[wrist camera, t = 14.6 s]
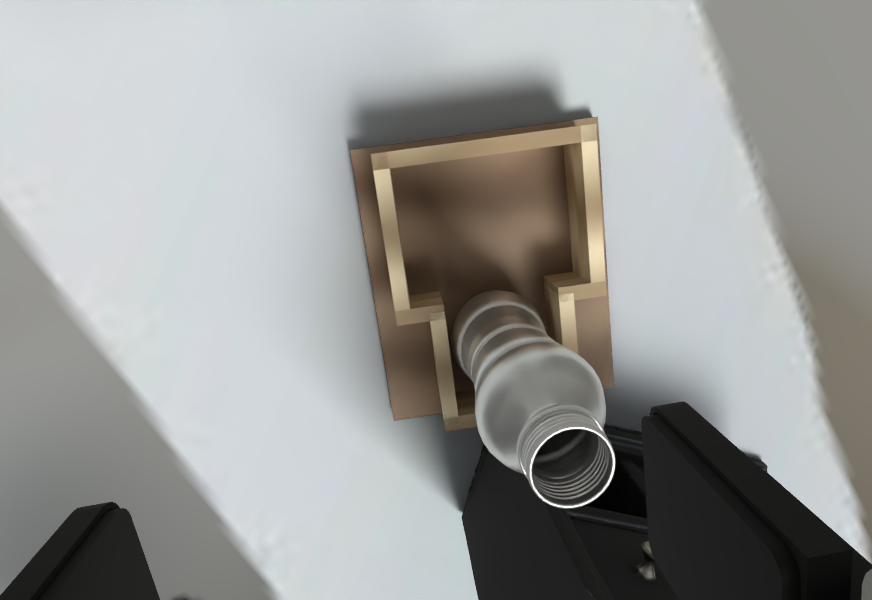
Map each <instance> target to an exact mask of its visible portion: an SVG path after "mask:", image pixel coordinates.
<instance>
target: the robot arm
mask: <svg viewBox="0 0 872 600" xmlns="http://www.w3.org/2000/svg"><path fill="white" fill-rule="evenodd" d="M642 440H643V457H644V473H645V489H646V506H647V522H648V538H649V545H650V549H651V552H652V555H653V558H654V560H655V562H656V564H657V565H658V567H659V568H660V570H661V572H662V573H663V575H664V576H665V578H666V580H667V581H668V583H669V584H670V586H671V587H672V589H673V591H674V592H675V594H676V595H677V597H678V599H679V600H872V564H871V563H869V562H868V561H867V560H866V559H865V558H864V557H863V556H861V555H860V554H859V553H858V552H857V551H856V550H855V549H853V548H852V547H851V546H850V545H849V544H848V543H847V542H846V541H844V540H843V539H842V538H841V537H840V536H839V535H838V534H836V533H835V532H834V531H833V530H832V529H831V528H830V527H828V526H827V525H826V524H825V523H824V522H823V521H822V520H820V519H819V518H818V517H817V516H816V515H815V514H814V513H813V512H811V511H810V510H809V509H808V508H807V507H806V506H805V505H803V504H802V503H801V502H800V501H799V500H798V499H797V498H795V497H794V496H793V495H792V494H791V493H790V492H789V491H788V490H786V489H785V488H784V487H783V486H782V485H781V484H780V483H778V482H777V481H776V480H775V479H774V478H773V477H772V476H770V475H769V474H768V473H767V472H766V471H765V470H763V469H762V468H760V467H759V466H757V465H756V464H755V463H754V462H753V461H752V460H751V459H750V458H748V457H747V456H746V455H745V454H744V453H743V452H742V451H740V450H739V449H738V448H737V447H736V446H735V445H734V444H733V443H731V442H730V441H729V440H728V439H727V438H726V437H725V436H723V435H722V434H721V433H720V432H719V431H718V430H717V429H716V428H714V427H713V426H712V425H711V424H710V423H709V422H708V421H706V420H705V419H704V418H703V417H702V416H701V415H700V414H699V413H697V412H696V411H695V410H694V409H693V408H692V407H691V406H690V405H688V404H687V403H685V402H678V403H672V404H666V405H661V406H655V407H652V408H651V411H650V416H645V417H643V418H642ZM0 600H160V598H159V595H158V593H157V590H156V587H155V584H154V581H153V578H152V575H151V572H150V570H149V567H148V564H147V561H146V558H145V555H144V552H143V550H142V547H141V544H140V541H139V538H138V535H137V532H136V530H135V527H134V524H133V521H132V518H131V515H130V513H129V512H128V511H127V509H123V508H122V509H120V508H119V506H118V505H117V504H116V503H113V502H108V503H103V504H97V505H91V506H86V507H80V508H77V509H76V510H74V511H73V512H72V513H71V514H70V516H69V517H68V518H67V519H66V520H65V521H64V523H63V524H62V525H61V526H60V527H59V528H58V530H57V531H56V532H55V533H54V534H53V535H52V536H51V538H50V539H49V540H48V541H47V542H46V543H45V545H44V546H43V547H42V548H41V549H40V550H39V551H38V553H37V554H36V555H35V556H34V557H33V558H32V559H31V561H30V562H29V563H28V564H27V565H26V566H25V568H24V569H23V570H22V571H21V572H20V573H19V575H18V576H17V577H16V578H15V579H14V580H13V581H12V583H11V584H10V585H9V586H8V587H7V588H6V590H5V591H4V592H3V593H2V594H1V595H0Z"/></svg>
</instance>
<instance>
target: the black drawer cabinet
mask: <svg viewBox="0 0 872 600" xmlns="http://www.w3.org/2000/svg"><path fill="white" fill-rule="evenodd" d="M603 429H604V432H605V435H606V436H607V438H608V439H609V441H610V442H611V445H612V447H613V450H614V453H615V460H616V464H615V471H614V475H613V478H612V480H611V482H610V484H609V486H608V487H607V488H606V490H605V491H604V492H603V493H602V494H601V495H600V496H599V497H598V498H597V499H595V500H594V501H592V502H591V503H588V504H586V505H584V506H581V507H577V508H568V509H565V508H557V507H554V506H551V505H549V504H547V503H545V502H544V501H542V500H541V499H540V498H539V497H538V496H537V495H536V494H535V492H534V491H533V489H532V488H531V486H530V483H529V481H528V479H527V478H526V476H525V475H524V474H522V473H519V472H516V471H514V470H512V469H511V468H509V467H507V466H505V465H504V464H503V463H502V462H500V461H499V460H498V459H497V458H496V457H495V456H494V455H492V454H491V453H490V452H489V450H488V449H487V447H486V446H485V445H483V448H482V451H481V456H480V460H479V463H478V466H477V468H476V470H475V476H474V478H473V480H472V485H471V486H470V489H469V495H468V498H467V502H466V505H465V508H464V511H463V514H462V521H463V526H464V531H465V535H466V540H467V545H468V550H469V555H470V560H471V565H472V570H473V575H474V580H475V585H476V590H477V595H478V599H479V600H679V599H678V597H677V595H676V594H675V592H674V591H673V589H672V587H671V586H670V584H669V583H668V581H667V580H666V578H665V576H664V575H663V573H662V572H661V570H660V568H659V567H658V565H657V564H656V562H655V560H654V558H653V555H652V552H651V549H650V545H649V538H648V522H647V506H646V489H645V473H644V457H643V440H642V433H641V432H638V431H631V430H626V429H622V428H618V427H612V426H608V425H605V424H604V427H603ZM750 459H751V460H752V461H753V462H754V463H755V464H756V465H757V466H759V467H760V468H762V469H763V470H765V471H766V472H767V465H766V464H765V463H764V462H762V461H760V460H756V459H752V458H750Z"/></svg>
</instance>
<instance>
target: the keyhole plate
mask: <svg viewBox="0 0 872 600" xmlns="http://www.w3.org/2000/svg"><path fill="white" fill-rule="evenodd" d="M350 153H351V159H352V165H353V171H354V177H355V184H356V190H357V196H358V202H359V208H360V214H361V221H362V227H363V233H364V239H365V245H366V251H367V257H368V264H369V270H370V276H371V282H372V288H373V294H374V301H375V307H376V313H377V319H378V325H379V331H380V337H381V344H382V350H383V356H384V362H385V368H386V374H387V381H388V387H389V393H390V399H391V405H392V411H393V417H394V421H396V420H403V419H409V418H416V417H423V416H429V415H436V414H443V419H444V424H445V430H446V432H447V431H453V430H460V429H467V428H473V427H477V421H476V415H475V389H474V384H473V382H472V380H471V379H470V378H469V377H468V376H467V375H466V374H465V373H464V371H463V370H462V369H461V367H460V366H459V365H458V363H457V362H456V359H455V357H454V355H453V350H452V345H451V335H452V330H453V326H454V322H455V319H456V317H457V314H458V313H459V311H460V310H461V308H462V307H463V306H464V305H465V304H466V303H467V302H468V301H469V300H470V299H472V298H473V297H475V296H476V295H479V294H481V293H483V292H487V291H491V290H502V291H508V292H513V293H515V294H518V295H520V296H522V297H524V298H525V299H527V300H528V301H529V302H530V303H531V304H532V305H533V306H534V307H535V308H536V310H537V311H538V313H539V315H540V317H541V319H542V322H543V324H544V327H545V331H546V333H547V335H548V336H549V337H550V338H551V339H552V340H554V341H555V342H557V343H559V344H561V345H563V346H565V347H567V348H569V349H570V350H572V351H573V352H575V353H577V354H578V355H579V356H581V357H582V358H583V359H585V361H586V362H587V363H588V364H589V365H590V366H591V367H592V368H593V369H594V371H595V372H596V374H597V375H598V377H599V379H600V382H601V385H602V388H603V389H610V388H614V379H613V362H612V346H611V329H610V312H609V296H608V279H607V263H606V246H605V229H604V213H603V196H602V180H601V163H600V146H599V130H598V117H592V118H585V119H577V120H570V121H562V122H555V123H548V124H540V125H533V126H525V127H518V128H511V129H503V130H496V131H488V132H481V133H473V134H466V135H459V136H451V137H444V138H436V139H429V140H421V141H414V142H407V143H399V144H392V145H384V146H377V147H369V148H362V149H355V150H350Z"/></svg>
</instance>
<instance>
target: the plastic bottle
mask: <svg viewBox="0 0 872 600" xmlns="http://www.w3.org/2000/svg"><path fill="white" fill-rule="evenodd" d="M451 345H452V350H453V355H454V357H455V359H456V362H457V363H458V365H459V366H460V367H461V369H462V370H463V371H464V373H465V374H466V375H467V376H468V377H469V378H470V379H471V380H472V382H473V384H474V389H475V415H476V421H477V427H478V432H479V434H480V436H481V439H482V441H483V443H484V445H485V446H486V447H487V449H488V450H489V452H490V453H491V454H492V455H494V456H495V457H496V458H497V459H498V460H499V461H500V462H502V463H503V464H504V465H505V466H507V467H509V468H511V469H512V470H514V471H516V472H519V473H522V474H524V475H525V476H526V478H527V479H528V481H529V483H530V486H531V488H532V489H533V491H534V492H535V494H536V495H537V496H538V497H539V498H540V499H541V500H542V501H544V502H545V503H547V504H549V505H551V506H554V507H557V508H565V509H568V508H577V507H581V506H584V505H586V504H588V503H591V502H592V501H594V500H595V499H597V498H598V497H599V496H600V495H601V494H602V493H603V492H604V491H605V490H606V488H607V487H608V486H609V484H610V482H611V480H612V478H613V475H614V471H615V464H616V460H615V453H614V450H613V447H612V445H611V442H610V441H609V439H608V438H607V436H606V435H605V432H604V429H603V427H604V424H605V418H606V404H605V397H604V392H603V388H602V385H601V382H600V379H599V377H598V375H597V374H596V372H595V371H594V369H593V368H592V367H591V366H590V365H589V364H588V363H587V362H586V361H585V359H583V358H582V357H581V356H579V355H578V354H577V353H575V352H573V351H572V350H570V349H569V348H567V347H565V346H563V345H561V344H559V343H557V342H555V341H554V340H552V339H551V338H550V337H549V336H548V335H547V333H546V331H545V327H544V324H543V322H542V319H541V317H540V315H539V313H538V311H537V310H536V308H535V307H534V306H533V305H532V304H531V303H530V302H529V301H528V300H527V299H525V298H524V297H522V296H520V295H518V294H515V293H513V292H508V291H502V290H491V291H487V292H483V293H481V294H479V295H476V296H475V297H473V298H472V299H470V300H469V301H468V302H467V303H466V304H465V305H464V306H463V307H462V308H461V310H460V311H459V313H458V314H457V317H456V319H455V322H454V326H453V330H452V335H451Z"/></svg>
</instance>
